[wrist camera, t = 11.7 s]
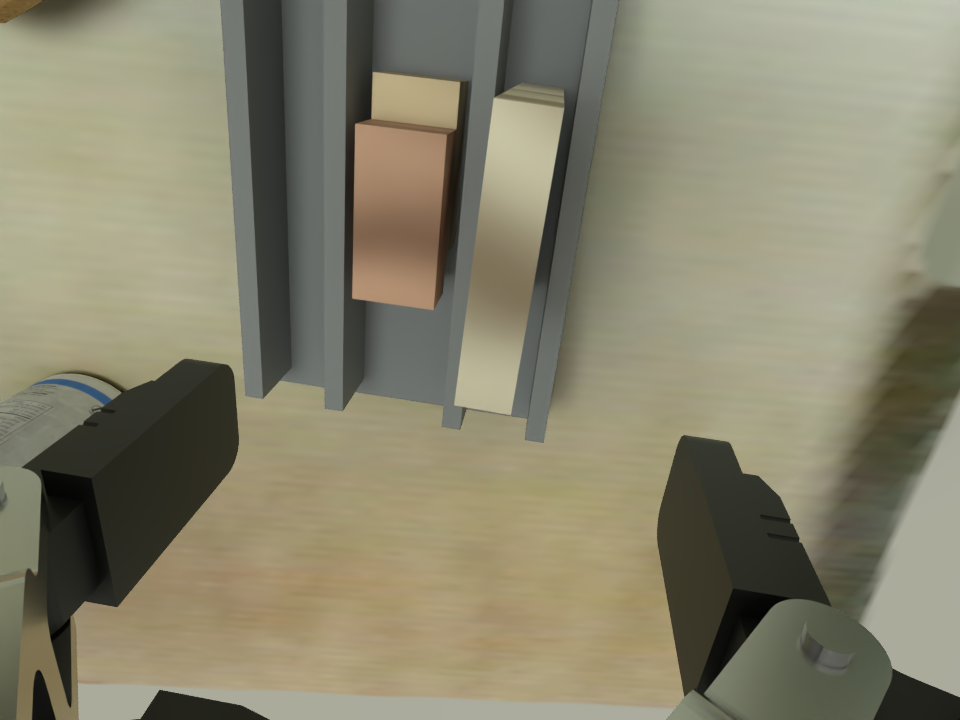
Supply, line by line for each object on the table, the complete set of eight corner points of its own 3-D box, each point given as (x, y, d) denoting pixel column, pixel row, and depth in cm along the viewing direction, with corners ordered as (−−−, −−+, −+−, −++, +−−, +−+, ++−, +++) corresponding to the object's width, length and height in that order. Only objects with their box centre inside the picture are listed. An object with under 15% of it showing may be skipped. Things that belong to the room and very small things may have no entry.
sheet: (522, 82, 31) (493, 98, 18) (563, 88, 31) (564, 108, 18) (493, 281, 35) (454, 405, 22) (529, 286, 35) (510, 414, 22)
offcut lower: (387, 71, 31) (372, 71, 29) (468, 80, 31) (460, 82, 29) (381, 233, 35) (368, 244, 32) (454, 243, 34) (446, 255, 32)
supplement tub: (182, 478, 46) (23, 647, 33) (71, 493, 48) (-121, 658, 35) (122, 355, 42) (-84, 490, 29) (5, 377, 44) (-239, 512, 31)
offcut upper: (371, 118, 30) (355, 123, 28) (456, 129, 30) (446, 134, 27) (367, 282, 33) (352, 298, 31) (443, 293, 33) (433, 310, 31)
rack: (270, -134, 30) (209, -174, 25) (629, -101, 28) (641, -135, 23) (286, 369, 41) (246, 411, 36) (544, 408, 40) (540, 458, 35)
